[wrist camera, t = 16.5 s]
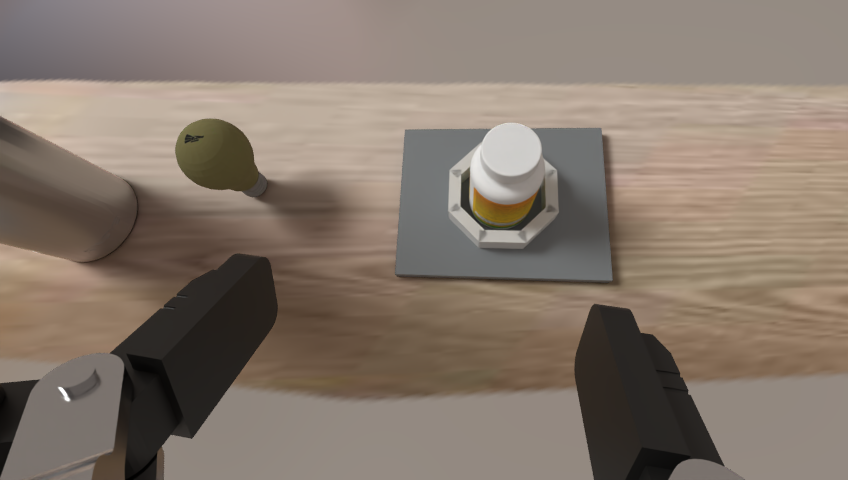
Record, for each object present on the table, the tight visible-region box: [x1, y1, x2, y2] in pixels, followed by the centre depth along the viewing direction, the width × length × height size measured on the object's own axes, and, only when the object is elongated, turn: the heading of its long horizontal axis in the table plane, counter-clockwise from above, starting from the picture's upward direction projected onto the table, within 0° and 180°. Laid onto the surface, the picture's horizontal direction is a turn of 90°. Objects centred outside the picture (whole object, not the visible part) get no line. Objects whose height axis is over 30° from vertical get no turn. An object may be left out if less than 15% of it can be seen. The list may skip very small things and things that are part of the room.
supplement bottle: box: [469, 123, 545, 229], centre depth 32 cm, size 5×5×10 cm
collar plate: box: [395, 128, 613, 283], centre depth 36 cm, size 18×14×3 cm
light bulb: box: [175, 119, 267, 197], centre depth 35 cm, size 6×6×10 cm
